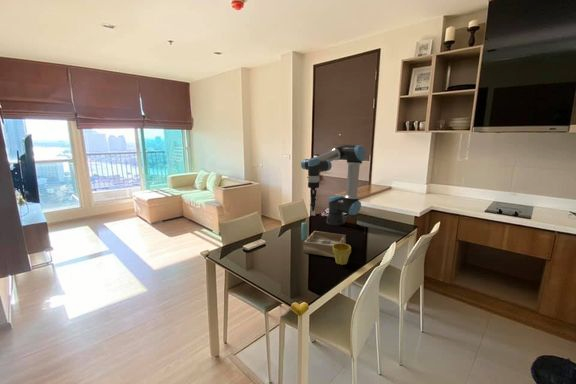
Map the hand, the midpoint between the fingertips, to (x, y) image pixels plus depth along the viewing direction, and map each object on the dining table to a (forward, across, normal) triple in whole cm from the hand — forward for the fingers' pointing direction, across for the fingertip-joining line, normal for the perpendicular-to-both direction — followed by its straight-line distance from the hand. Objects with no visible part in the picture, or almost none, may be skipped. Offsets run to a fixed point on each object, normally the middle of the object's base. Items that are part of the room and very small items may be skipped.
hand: (313, 212), depth 187 cm
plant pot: (+21, +31, +17) cm, 41 cm away
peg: (+21, -3, -6) cm, 22 cm away
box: (+21, +12, +8) cm, 25 cm away
